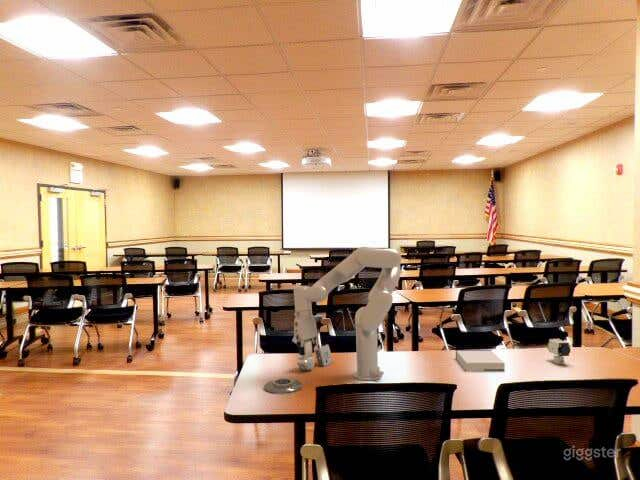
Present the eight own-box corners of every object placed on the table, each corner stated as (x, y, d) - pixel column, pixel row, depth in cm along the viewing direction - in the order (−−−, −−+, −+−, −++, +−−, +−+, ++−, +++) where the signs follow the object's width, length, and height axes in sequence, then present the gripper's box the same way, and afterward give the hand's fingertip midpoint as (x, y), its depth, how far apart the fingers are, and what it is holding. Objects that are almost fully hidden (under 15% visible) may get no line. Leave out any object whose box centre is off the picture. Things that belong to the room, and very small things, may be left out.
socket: (309, 387, 202) (309, 381, 202) (279, 396, 192) (279, 390, 192) (286, 379, 214) (286, 373, 214) (256, 387, 203) (256, 381, 203)
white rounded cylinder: (314, 356, 213) (313, 339, 213) (306, 358, 210) (305, 341, 210) (307, 354, 217) (306, 338, 217) (299, 357, 214) (297, 340, 214)
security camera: (556, 359, 235) (555, 335, 234) (571, 366, 223) (570, 341, 223) (545, 360, 234) (545, 336, 234) (560, 367, 222) (559, 341, 222)
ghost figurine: (293, 369, 229) (292, 348, 229) (311, 366, 233) (310, 346, 233) (300, 374, 221) (299, 353, 221) (318, 371, 225) (318, 350, 225)
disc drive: (491, 359, 240) (491, 349, 240) (505, 372, 217) (505, 362, 217) (455, 359, 241) (455, 349, 241) (466, 372, 219) (465, 362, 219)
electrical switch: (324, 367, 231) (322, 348, 232) (315, 367, 234) (313, 348, 234) (333, 362, 240) (331, 344, 240) (324, 362, 242) (322, 344, 242)
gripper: (294, 317, 205) (297, 359, 205) (323, 311, 216) (326, 350, 217) (283, 316, 210) (286, 356, 211) (312, 309, 222) (315, 348, 222)
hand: (306, 353), depth 214 cm, fingers closed on white rounded cylinder, 5 cm apart
